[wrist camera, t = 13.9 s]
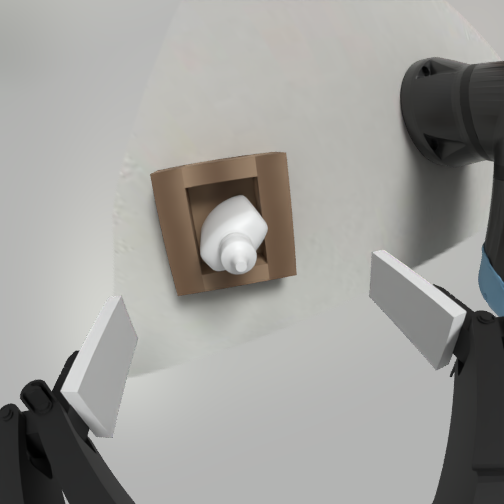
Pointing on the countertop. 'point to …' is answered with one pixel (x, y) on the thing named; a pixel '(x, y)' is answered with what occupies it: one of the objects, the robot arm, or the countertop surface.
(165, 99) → the countertop surface
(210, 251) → the eye dropper bottle
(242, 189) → the walnut bottle stand
